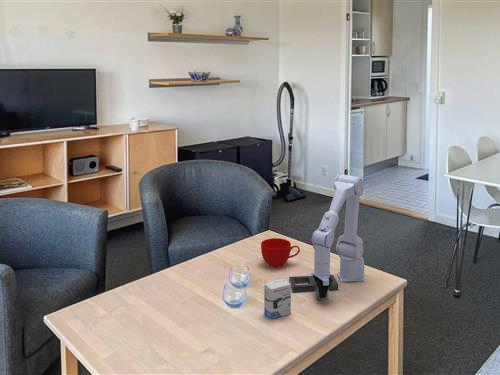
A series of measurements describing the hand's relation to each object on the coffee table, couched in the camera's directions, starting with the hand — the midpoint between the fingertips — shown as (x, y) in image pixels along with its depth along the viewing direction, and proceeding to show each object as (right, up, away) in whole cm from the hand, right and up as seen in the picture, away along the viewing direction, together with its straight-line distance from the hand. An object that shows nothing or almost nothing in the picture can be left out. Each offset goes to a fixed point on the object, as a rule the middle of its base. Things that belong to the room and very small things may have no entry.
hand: (321, 294), depth 190 cm
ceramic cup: (-14, +6, +30) cm, 34 cm away
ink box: (-17, -5, -11) cm, 21 cm away
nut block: (0, -1, 0) cm, 1 cm away
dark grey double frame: (-2, +1, +10) cm, 10 cm away
